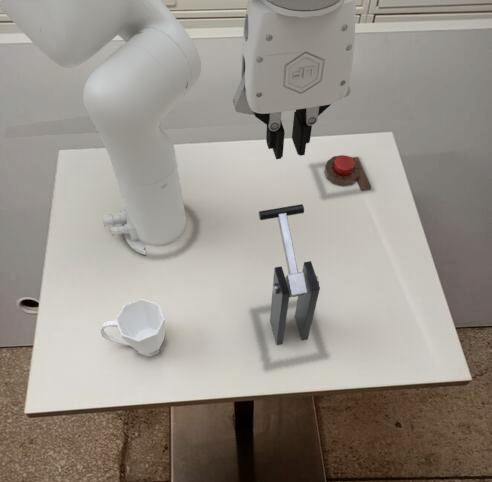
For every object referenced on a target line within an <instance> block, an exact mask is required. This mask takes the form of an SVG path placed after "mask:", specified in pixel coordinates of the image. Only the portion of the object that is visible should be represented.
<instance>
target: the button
mask: <svg viewBox="0 0 492 482" xmlns="http://www.w3.org/2000/svg"><path fill="white" fill-rule="evenodd" d="M342 155H343V156H340V155H338V156H339V157H337V158H336V160H335V163H334V168H332V169H333V172H334V173H335V174H337V175H339V176H343V177H345V176H350V175H351V174H353V168H354V164H355V162H354V160H353V159H352V158H353V157H352V156H350V155H344V154H342ZM351 157H352V158H351Z"/></svg>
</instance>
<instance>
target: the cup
mask: <svg viewBox="0 0 492 482" xmlns="http://www.w3.org/2000/svg"><path fill="white" fill-rule="evenodd" d="M100 326H101V327H100V334H101V337H102V338H103V339H105V340H106V341H109V342H111V343H115V344H119V345H123V346H128V347H132V348H133V349H135V350H136V351H138V354H140V355H143V356H145V357H148V358H150V357H152V356H155V355H157V354H160V352H161V346H162V344H163V342H164V341H165V336H166V318H165V314H164V313H163V310H162V307H161V305H160V303H158V302H155V301H153V300H149V299H146V298H144V297H141V298H139V299H136V300H133V301H130V302H127V303H125V304H123V306H122V308H121V309H120V311H119V313H118V315H117V317H116V318H115V319H114V320H106V321H104V322H103V323H101V325H100ZM108 327H112V328H113V327H114V328H118V330H119V333H120V336H121V337H122V338H120V337H116V336H113V335H111V334H108V333H107V332H106V331H105V329H106V328H108Z"/></svg>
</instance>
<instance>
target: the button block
mask: <svg viewBox="0 0 492 482" xmlns="http://www.w3.org/2000/svg"><path fill="white" fill-rule="evenodd" d="M343 155H344V154H341V155H334V156H333V157H331V158H329V159H327V161H326V164H325V167H324V171H323V172H324V175H325V178H326V180H327V181H328V182H330V183H331V184H333V185H335V186H339V187H349V186H353V185H354V184H355V183H357V185H358V187H359V188H358V189H359V190H360V191H361V192H364V191H365V192H366V191H371V189H372V185H371V182H370V181H369V178H368V176H367V174H366V172H365V169H364V167H363V165H362V163H361V161H360V158H359V156H355V157H352V156H350V157H351V158H352V159H353V160H354V162H355V164H354V168H353V172H352V174H351V175H349V176H345V177H343V176H339V175H337V174H336V173H335V172H334V169H333V168H334V163H335V160H336V158H337V157H339V156H343Z"/></svg>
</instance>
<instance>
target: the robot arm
mask: <svg viewBox="0 0 492 482" xmlns="http://www.w3.org/2000/svg"><path fill="white" fill-rule="evenodd" d="M0 10H1V11H2V12H3V13H4V14H5V15H6V16H7V17H8V18H9V19H10V20H11V21H12V23H14V24H15V26H17V28H18V29H19V30H20V31H21V32H22V33H24V35H25V36H26V37H27V38H28V39H29V40H30V41H31V42H32V43H33V44H34V45H35V46H36V47H37V48H38V50H39V51H41V52H42V53H43V54H44V55H45V56H46V57H47V58H48V59H50V60H51V61H52V62H53V63H55V64H56V65H58V66H60V67H62V68H65V69H66V68H67V69H72V68H75V67H78V66H80V65H82V64H83V63H85V62H87V61H89V60H90V59H91V58H92V57H94V56H95V55H96V54H97V53H98V52H99V51H101V50H102V49H103V48H104V47H106V46H107V45H108V44H109V43H110V42H112V40H114V39H115V38H116V37H117V36H119V37H120V38H121V39H122V40H123V41H124V42H125V43H124V44H122V45H120V46H119V47H118V48H117V49H116V50H115V51H113V52H112V53H111V54H110V55H109V56H108V57H106V58H104V60H103V61H102V62H101V63H100V64H98V65H97V67H96V68H95V69H94V70H93V71H92V72H91V74H90V75H89V77H88V79H87V80H86V82H85V84H84V87H83V92H82V100H83V105H84V108H85V111H86V113H87V115H88V116H89V118H90V120H91V122H92V123H93V125H94V127H95V129H96V130H97V132H98V134H99V136H100V138H101V140H102V142H103V144H104V147H105V149H106V152H107V155H108V158H109V161H110V164H111V167H112V170H113V173H114V175H115V179H116V182H117V185H118V188H119V192H120V195H121V198H122V202H123V204H124V210H120V211H119V213H115V214H113V213H111V214H104V215H102V216H101V219H102V224H103V227H104V228H105V227H110V233H111V235H112V236H118V235H121V234H123V235H124V238H125V240H126V242H127V244H128V245H129V246H130V248H131V249H133V250H134V251H135V252H137V253H139V254H141V255H143V256H147V251H146V245H147V246H151V247H163V246H167V245H170V244H172V243H175V242H176V241H177V240H179V239H180V238H181V237H182V235H183V234H184V232H185V231H186V228H187V216H186V210H185V205H184V198H183V193H182V192H183V191H182V185H181V180H180V173H179V168H178V161H177V155H176V150H175V146H174V142H173V140H172V139H171V137H170V136H169V135H168V133H166V132H165V131H164V130H163V129H161V128H160V127H161V123H162V121H163V120H164V118H165V117H166V116H167V115H168V114H169V113H170V112H171V111H172V109H173V108H174V107H175V106H176V105H178V103H179V102H180V101H181V100H182V99H183V98H184V97H185V96H186V95H187V94H188V93H189V92H190V91H191V90H192V89H193V87H195V85H196V84H197V82H198V80H199V78H200V75H201V72H202V62H201V56H200V53H199V51H198V48H197V46H196V44H195V42H194V41H193V39H192V38H191V36H190V35H189V33H188V32H187V30H186V29H185V28H184V26H183V25H182V24H181V23H180V21H179V20H178V19H177V18H176V16H175V15H174V14H173V12H172V11H171V10H170V9H169V8H168V6H167V5H166V4H165V3H164V1H163V0H0ZM356 19H357V0H247V6H246V10H245V18H244V24H243V34H242V44H241V58H240V64H241V65H240V76H241V79H240V81H239V84H238V86H237V89H236V91H235V93H234V96H233V98H232V105H233V107H234V110H235V112H236V113H240V114H244V115H249V116H251V115H253V116H254V117H255V118H257V119H258V120H260V121H261V122H262V123H263V124H265V125H266V131H265V132H266V133H265V134H266V135H265V140H266V146H267V148H268V150H271V149H272V151H273V154H274V157H275V160H282V158H283V157H284V145H285V143H284V142H285V135H286V134H285V132H286V131H285V128H284V125H283V121H282V112H289V111H293V122H292V130H291V131H292V133H291V140H292V142H293V146H294V149H295V151H296V153H297V155H299V156H300V157H301V156H305V154H306V148H307V144H310V141H311V135H312V130H313V129H312V128H313V126H314V125H315V124H317V122H318V119H319V118H318V117H319V116H320V115H321V114H323V113H324V112H325V111H326V110H327V109H328V108H329V107H330V106H331V105H333V104H336V103H338V102H340V101H342V100H343V99H345V98H347V97H348V96H350V94H351V88H350V81H351V75H352V67H353V60H354V51H355V40H356V39H355V37H356V24H357V23H356V21H357V20H356ZM121 224H122V225H121ZM115 225H119V226H115Z"/></svg>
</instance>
